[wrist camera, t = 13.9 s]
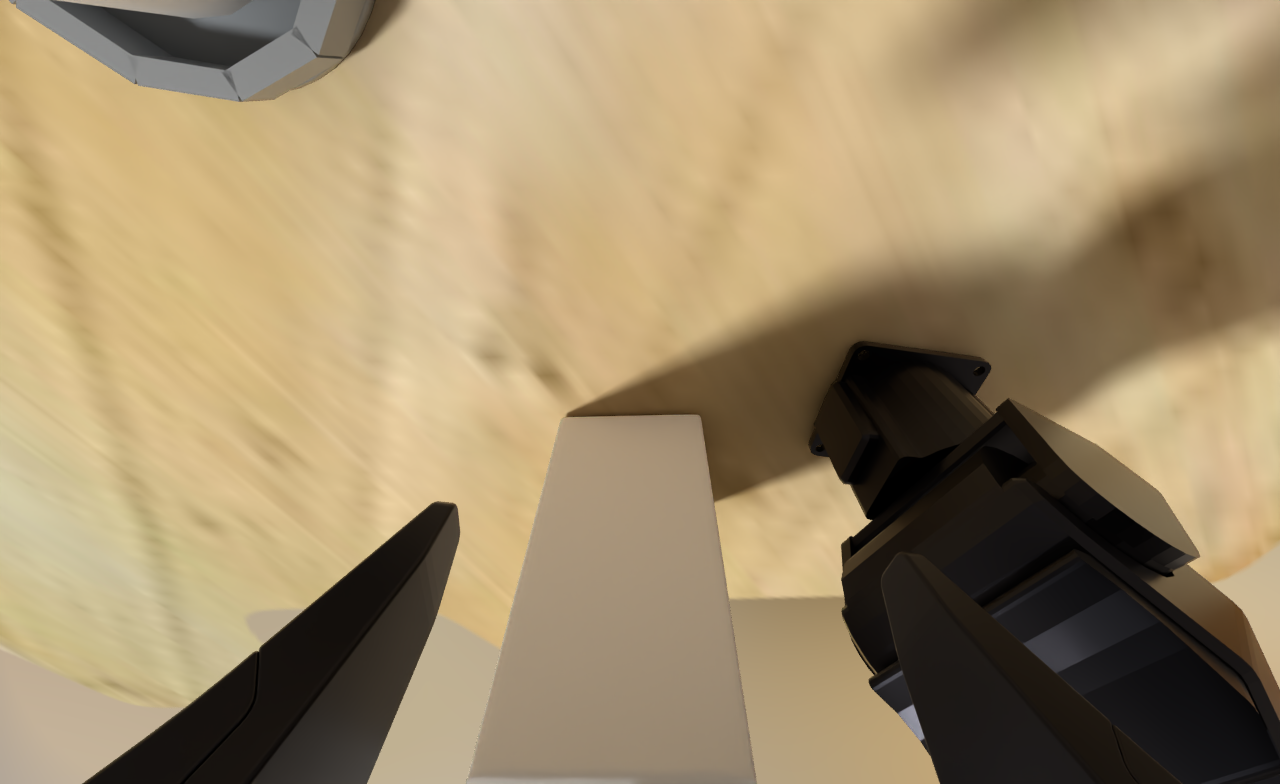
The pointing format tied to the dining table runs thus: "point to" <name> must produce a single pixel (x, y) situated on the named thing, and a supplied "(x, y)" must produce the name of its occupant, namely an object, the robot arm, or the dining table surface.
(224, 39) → the ring coaster
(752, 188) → the dining table surface
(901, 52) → the dining table surface
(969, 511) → the robot arm
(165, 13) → the can
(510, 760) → the milk carton
